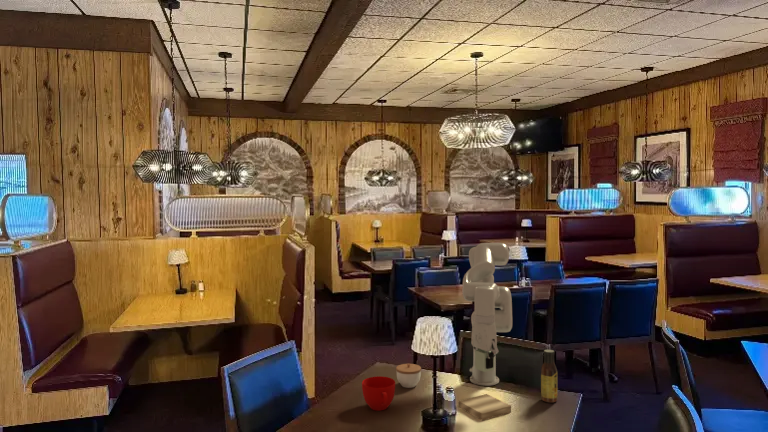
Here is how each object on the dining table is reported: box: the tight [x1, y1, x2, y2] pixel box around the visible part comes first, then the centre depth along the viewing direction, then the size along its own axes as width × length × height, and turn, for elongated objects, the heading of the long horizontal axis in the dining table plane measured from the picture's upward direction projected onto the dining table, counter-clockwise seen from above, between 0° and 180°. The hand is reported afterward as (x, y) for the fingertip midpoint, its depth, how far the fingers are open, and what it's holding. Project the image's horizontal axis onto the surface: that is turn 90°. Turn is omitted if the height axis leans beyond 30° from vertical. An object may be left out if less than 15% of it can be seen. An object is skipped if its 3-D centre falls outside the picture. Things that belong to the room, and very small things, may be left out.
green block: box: [475, 349, 494, 372], centre depth 209 cm, size 5×5×7 cm
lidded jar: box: [395, 363, 422, 389], centre depth 237 cm, size 11×11×9 cm
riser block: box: [458, 393, 512, 421], centre depth 210 cm, size 14×14×3 cm
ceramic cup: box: [361, 376, 396, 411], centre depth 212 cm, size 13×17×10 cm
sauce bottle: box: [540, 349, 558, 403], centre depth 218 cm, size 6×6×20 cm
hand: (484, 365), depth 209 cm, fingers closed on green block, 5 cm apart
